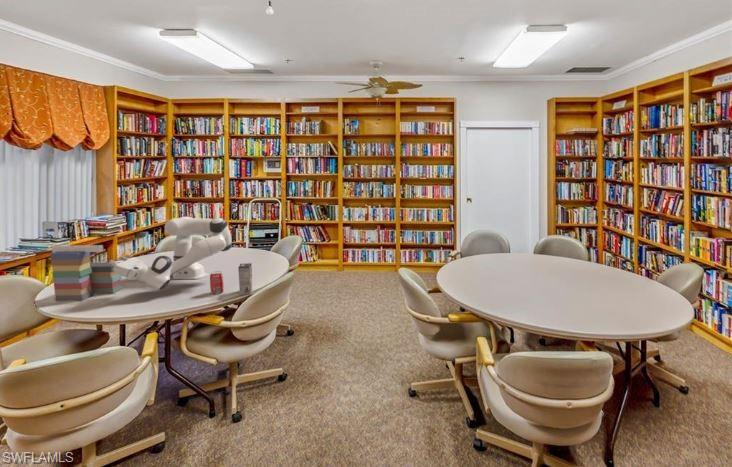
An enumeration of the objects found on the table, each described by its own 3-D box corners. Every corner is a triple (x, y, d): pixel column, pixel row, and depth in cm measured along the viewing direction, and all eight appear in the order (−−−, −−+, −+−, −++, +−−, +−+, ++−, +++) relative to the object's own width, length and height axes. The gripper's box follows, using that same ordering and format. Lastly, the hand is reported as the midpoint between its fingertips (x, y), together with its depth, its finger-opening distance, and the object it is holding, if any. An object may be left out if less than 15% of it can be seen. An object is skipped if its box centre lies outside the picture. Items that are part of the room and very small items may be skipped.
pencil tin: (103, 250, 221) (102, 245, 220) (99, 251, 217) (99, 246, 217) (56, 251, 219) (56, 245, 218) (52, 252, 215) (51, 246, 215)
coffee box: (241, 290, 238) (240, 263, 236) (252, 289, 240) (251, 263, 237) (239, 294, 229) (238, 267, 227) (251, 294, 231) (250, 266, 228)
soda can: (218, 290, 238) (217, 270, 236) (226, 292, 234) (225, 272, 232) (208, 293, 232) (207, 272, 230) (215, 295, 228) (214, 274, 226)
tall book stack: (94, 295, 227) (89, 249, 223) (83, 300, 217) (78, 253, 213) (67, 295, 226) (62, 249, 222) (55, 301, 216) (50, 253, 212)
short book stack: (122, 288, 240) (120, 262, 237) (113, 293, 230) (111, 266, 227) (94, 289, 238) (91, 262, 236) (84, 294, 229) (81, 266, 226)
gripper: (150, 262, 232) (127, 250, 230) (132, 270, 212) (107, 258, 210) (145, 271, 233) (122, 260, 231) (127, 281, 212) (102, 268, 210)
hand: (115, 259), depth 220 cm, fingers open, 8 cm apart
